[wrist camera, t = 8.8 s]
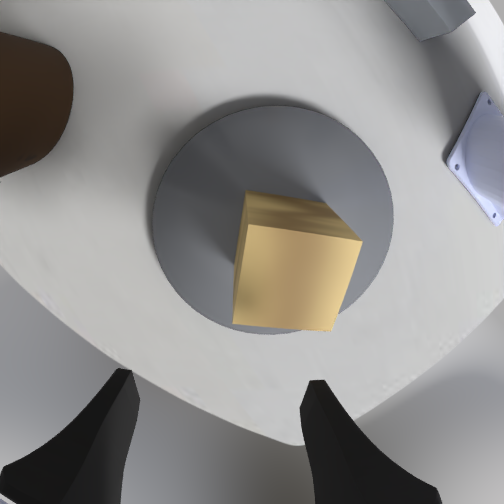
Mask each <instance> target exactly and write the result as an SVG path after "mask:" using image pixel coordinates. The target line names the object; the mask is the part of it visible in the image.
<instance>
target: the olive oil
mask: <svg viewBox="0 0 504 504" xmlns="http://www.w3.org/2000/svg"><path fill="white" fill-rule="evenodd" d="M72 101H73V77H72V72H71V69H70V66H69V64H68V62H67V60H66V58H65V57H64V56H63V54H62V53H61V52H59V51H58V50H57V49H55V48H53V47H51V46H48V45H45V44H42V43H38V42H35V41H32V40H28V39H25V38H21V37H17V36H14V35H10V34H6V33H3V32H0V177H3V176H5V175H7V174H10V173H12V172H15V171H17V170H19V169H22V168H24V167H27V166H29V165H32V164H34V163H36V162H38V161H39V160H41V159H42V158H44V157H45V156H46V155H47V154H48V153H49V152H50V151H51V150H52V149H53V147H54V146H55V145H56V143H57V142H58V140H59V139H60V137H61V135H62V133H63V131H64V129H65V127H66V124H67V121H68V118H69V115H70V111H71V107H72ZM1 182H2V181H1Z"/></svg>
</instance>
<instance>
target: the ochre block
mask: <svg viewBox="0 0 504 504" xmlns="http://www.w3.org/2000/svg"><path fill="white" fill-rule="evenodd" d="M362 242H363V241H362V240H361V239H360V238H359V237H358V236H357V235H356V234H355V233H354V231H353V230H352V229H351V228H350V227H349V226H348V225H347V224H346V223H345V222H344V221H343V220H342V219H341V218H340V217H339V216H338V215H337V214H336V213H335V212H334V211H333V210H332V209H331V208H330V207H329V206H328V205H327V204H326V203H322V202H317V201H311V200H305V199H299V198H294V197H288V196H281V195H275V194H269V193H262V192H255V191H249V190H246V191H245V197H244V203H243V210H242V216H241V223H240V229H239V236H238V242H237V249H236V256H235V262H234V282H233V318H232V324H240V325H249V326H260V327H271V328H284V329H297V330H313V331H331V330H332V328H333V325H334V322H335V320H336V317H337V315H338V312H339V309H340V307H341V304H342V301H343V299H344V296H345V293H346V290H347V288H348V285H349V282H350V279H351V276H352V273H353V270H354V267H355V264H356V261H357V258H358V255H359V252H360V249H361V246H362Z"/></svg>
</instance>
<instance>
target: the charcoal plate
mask: <svg viewBox="0 0 504 504" xmlns="http://www.w3.org/2000/svg"><path fill="white" fill-rule="evenodd" d="M246 190H249V191H255V192H262V193H269V194H275V195H281V196H288V197H294V198H299V199H305V200H311V201H317V202H322V203H326V204H327V205H328V206H329V207H330V208H331V209H332V210H333V211H334V212H335V213H336V214H337V215H338V216H339V217H340V218H341V219H342V220H343V221H344V222H345V223H346V224H347V225H348V226H349V227H350V228H351V229H352V230H353V231H354V233H355V234H356V235H357V236H358V237H359V238H360V239H361V240H362V241H363V242H362V246H361V249H360V252H359V255H358V258H357V261H356V264H355V267H354V270H353V273H352V276H351V279H350V282H349V285H348V288H347V290H346V293H345V296H344V299H343V301H342V304H341V307H340V309H339V312H338V314H339V313H341V312H342V311H344V310H345V309H346V308H348V307H349V306H350V305H351V304H353V303H354V302H355V301H356V300H357V299H358V298H359V297H360V296H361V295H362V294H363V293H364V292H365V290H366V289H367V288H368V287H369V286H370V284H371V283H372V281H373V280H374V279H375V277H376V276H377V274H378V272H379V270H380V268H381V266H382V265H383V263H384V260H385V257H386V255H387V252H388V250H389V246H390V242H391V238H392V231H393V202H392V196H391V191H390V188H389V184H388V181H387V178H386V176H385V174H384V171H383V169H382V167H381V165H380V163H379V162H378V160H377V159H376V157H375V156H374V154H373V153H372V151H371V150H370V149H369V148H368V146H367V145H366V144H365V143H364V142H363V141H362V140H361V139H360V138H359V137H358V136H357V135H356V134H354V133H353V132H352V131H351V130H350V129H348V128H347V127H345V126H344V125H342V124H341V123H339V122H337V121H336V120H334V119H332V118H330V117H327V116H325V115H323V114H320V113H318V112H315V111H311V110H307V109H303V108H298V107H290V106H262V107H256V108H251V109H246V110H242V111H239V112H236V113H233V114H230V115H228V116H226V117H224V118H222V119H220V120H218V121H216V122H214V123H212V124H210V125H209V126H207V127H206V128H204V129H203V130H202V131H200V132H199V133H197V134H196V135H195V136H194V137H193V138H192V139H191V140H190V141H189V142H187V143H186V144H185V145H184V146H183V147H182V149H181V150H180V151H179V152H178V154H177V155H176V156H175V158H174V159H173V160H172V162H171V163H170V165H169V167H168V169H167V170H166V172H165V174H164V176H163V178H162V181H161V183H160V186H159V188H158V191H157V195H156V199H155V203H154V208H153V220H152V227H153V240H154V245H155V250H156V254H157V257H158V260H159V262H160V265H161V268H162V270H163V272H164V274H165V275H166V277H167V279H168V281H169V282H170V284H171V285H172V287H173V288H174V289H175V291H176V292H177V293H178V294H179V295H180V297H181V298H182V299H183V300H184V301H185V302H186V303H187V304H188V305H190V306H191V307H192V308H193V309H194V310H196V311H197V312H198V313H200V314H201V315H203V316H205V317H206V318H208V319H210V320H212V321H214V322H216V323H218V324H220V325H222V326H225V327H228V328H230V329H233V330H237V331H242V332H246V333H253V334H272V335H274V334H285V333H291V332H296V331H301V330H297V329H284V328H271V327H260V326H249V325H240V324H232V318H233V282H234V262H235V256H236V249H237V242H238V236H239V229H240V223H241V216H242V210H243V203H244V197H245V191H246Z"/></svg>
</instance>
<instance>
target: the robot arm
mask: <svg viewBox="0 0 504 504" xmlns="http://www.w3.org/2000/svg"><path fill="white" fill-rule="evenodd" d="M487 101H488V102H487ZM455 165H457V167H456V169H455ZM447 166H448V168H449V169H450V170H451V171H452V172H453V173H454V174H455V176H456V177H457V178H458V179H459V180H460V181H461V183H462V184H463V185H464V186H465V187H466V189H467V190H468V191H469V192H470V194H471V195H472V196H473V197H474V199H475V200H476V201H477V203H478V204H479V205H480V206H481V208H482V209H483V210H484V212H485V213H486V215H487V216H488V217H489V219H490V220H491V221H492V223H493V224H494V225H495V226H499V225H500V223H501V221H502V219H504V116H503V115H502V114H501V112H500V111H499V109H498V108H497V106H496V105H495V103H494V102H493V101H492V99H491V98H490V96H489V95H488V94H487V93H486V92H481V93H480V95H479V97H478V99H477V102H476V104H475V106H474V108H473V110H472V112H471V114H470V116H469V118H468V120H467V122H466V124H465V126H464V128H463V130H462V132H461V134H460V136H459V138H458V140H457V142H456V144H455V146H454V147H453V149H452V151H451V153H450V155H449V157H448V158H447ZM139 403H140V397H139V394H138V391H137V387H136V384H135V380H134V377H133V373H132V370H126V369H120V368H118V369H116V371H115V372H114V373H113V374H112V376H111V377H110V379H109V380H108V381H107V382H106V383H105V385H104V386H103V387H102V389H101V390H100V391H99V392H98V393H97V394H96V396H95V397H94V398H93V399H92V400H91V401H90V403H89V404H88V405H87V406H86V407H85V408H84V409H83V410H82V411H81V412H80V413H79V415H78V416H77V417H76V418H75V419H74V420H73V421H72V422H71V423H70V424H69V425H67V426H66V427H65V428H64V429H63V430H62V431H61V432H60V433H58V434H57V435H56V436H55V437H54V438H52V439H51V440H50V441H48V442H47V443H45V444H44V445H43V446H41V447H40V448H38V449H36V450H35V451H33V452H32V453H30V454H28V455H27V456H25V457H23V458H21V459H19V460H17V461H15V462H13V463H11V464H8V465H6V466H4V467H3V469H2V471H1V474H0V493H1V494H2V495H4V496H5V497H7V498H8V499H10V500H11V501H13V502H15V503H16V504H120V502H121V488H122V480H123V471H124V466H125V461H126V457H127V454H128V450H129V447H130V443H131V439H132V436H133V432H134V429H135V425H136V421H137V416H138V410H139ZM300 417H301V427H302V432H303V437H304V441H305V445H306V450H307V453H308V458H309V462H310V466H311V471H312V476H313V484H314V493H315V504H442V501H441V498H440V495H439V493H438V490H437V488H435V487H433V486H431V485H429V484H427V483H425V482H423V481H422V480H420V479H418V478H416V477H414V476H413V475H412V474H410V473H408V472H407V471H406V470H404V469H403V468H401V467H400V466H399V465H397V464H396V463H394V462H393V461H392V460H391V459H389V458H388V457H387V456H386V455H385V454H384V453H382V451H380V450H379V449H378V448H377V447H376V446H375V445H374V444H373V443H372V442H371V441H370V440H369V439H368V438H367V436H366V435H365V434H364V433H363V432H362V431H361V430H360V428H359V427H358V426H357V425H356V424H355V422H354V421H353V420H352V418H351V417H350V416H349V415H348V413H347V412H346V411H345V409H344V408H343V407H342V405H341V404H340V402H339V401H338V399H337V398H336V396H335V395H334V393H333V392H332V390H331V389H330V387H329V386H328V384H327V383H326V381H325V380H310V381H309V384H308V387H307V390H306V393H305V395H304V398H303V401H302V403H301V406H300ZM0 504H8V503H6V502H4V501H3V500H1V499H0Z"/></svg>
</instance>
